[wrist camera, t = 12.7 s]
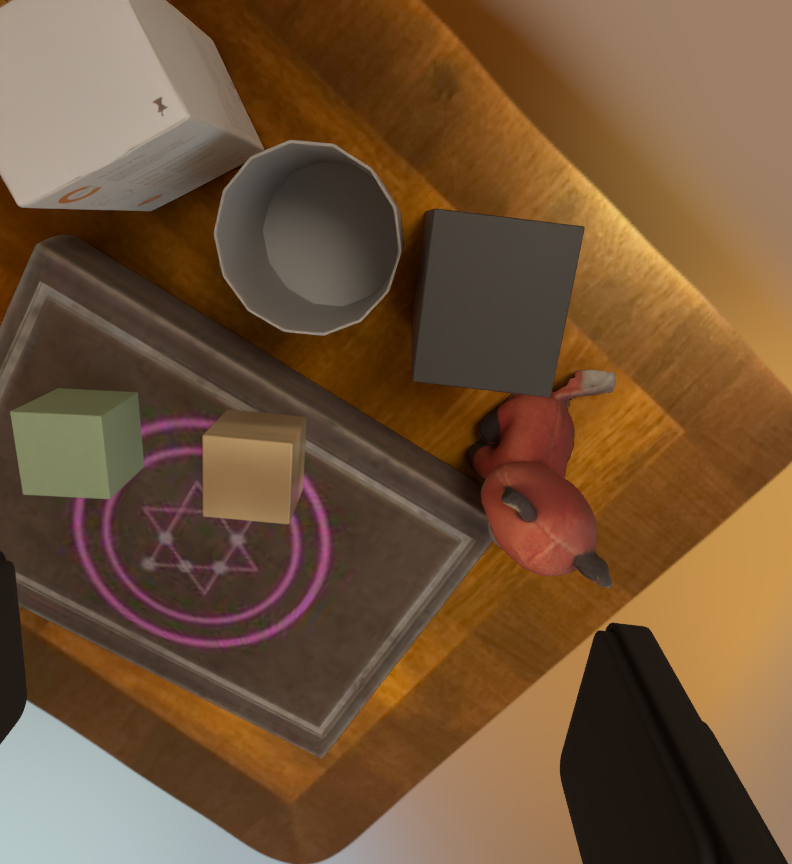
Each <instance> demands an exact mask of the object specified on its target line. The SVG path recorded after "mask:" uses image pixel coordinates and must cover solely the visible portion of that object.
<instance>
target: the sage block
mask: <svg viewBox="0 0 792 864" xmlns="http://www.w3.org/2000/svg"><path fill="white" fill-rule="evenodd" d="M10 415H11V421H12V427H13V434H14V440H15V447H16V453H17V459H18V466H19V472H20V478H21V485H22V491H23V494H24V495H39V496H59V497H78V498H97V499H110V498H112V497H113V496H114V495H115V494H116V493H117V492H118V491H119V490H120V489H121V488H122V487H123V486H124V485H125V484H126V483H127V482H129V481H130V480H131V479H132V478H133V477H134V476H135V475H136V474H137V473H138V472H139V471H140V470H141V469H142V468H143V467H144V457H143V445H142V434H141V423H140V411H139V400H138V393H137V392H123V391H104V390H84V389H65V388H58V389H55V390H53V391H51V392H49V393H47V394H45V395H43V396H41V397H39V398H37V399H35V400H33V401H31V402H29V403H27V404H25V405H22V406H20V407H18V408H16V409H14V410H12V411H10Z"/></svg>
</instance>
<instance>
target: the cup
mask: <svg viewBox="0 0 792 864" xmlns="http://www.w3.org/2000/svg"><path fill="white" fill-rule="evenodd" d="M214 238H215V243H216V247H217V252H218V256H219V261H220V266H221V270H222V275H223V277H224V279H225V280H226V281H227V283H228V284H229V285H230V287H231V288H232V290H233V291H234V292H235V294H236V295H237V297H238V298H239V299H240V301H241V302H242V303H243V305H244V306H245V308H246V309H247V310H248V311H249V312H251V313H252V314H254V315H256V316H257V317H259V318H261V319H263V320H264V321H266V322H268V323H269V324H271V325H273V326H275V327H276V328H278V329H280V330H281V331H283V332H290V333H301V334H311V335H322V336H324V335H327V334H330V333H332V332H335V331H338V330H340V329H343V328H346V327H348V326H351V325H354V324H356V323H359V322H361V321H362V320H363V319H364V318H365V317H366V316H367V315H368V314H369V313H370V312H371V311H372V310H373V308H374V307H375V306H376V305H377V304H378V303H379V302H380V301H381V300H382V299H383V298H384V297H385V296H386V295H387V294H388V292H389V290H390V287H391V284H392V281H393V278H394V275H395V271H396V268H397V265H398V262H399V259H400V256H401V252H402V249H403V245H404V239H403V230H402V222H401V214H400V209H399V208H398V206H397V204H396V203H395V201H394V199H393V198H392V196H391V195H390V193H389V191H388V190H387V188H386V187H385V185H384V183H383V182H382V180H381V179H380V178H379V177H378V175H377V174H376V173H375V171H374V170H373V169H372V168H371V167H369V166H368V165H366V164H364V163H363V162H361V161H360V160H358V159H357V158H355V157H353V156H352V155H350V154H349V153H347V152H346V151H344V150H343V149H341V148H339V147H338V146H336V145H335V144H328V143H318V142H308V141H297V140H289V141H286V142H284V143H281V144H279V145H277V146H274V147H272V148H270V149H267V150H265V151H263V152H260V153H258V154H255V155H253V156H251V157H250V158H249V159H248V160H247V161H246V163H245V164H244V165H243V166H242V168H241V169H240V170H239V171H238V172H237V174H236V175H235V176H234V177H233V179H232V180H231V181H230V182H229V184H228V185H227V186H226V187H225V189H224V190H223V193H222V197H221V202H220V206H219V211H218V215H217V220H216V224H215V229H214Z"/></svg>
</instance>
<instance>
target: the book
mask: <svg viewBox="0 0 792 864" xmlns="http://www.w3.org/2000/svg"><path fill="white" fill-rule="evenodd" d="M58 388H65V389H84V390H104V391H123V392H137V393H138V400H139V411H140V423H141V434H142V445H143V457H144V467H143V468H142V469H141V470H140V471H139V472H138V473H137V474H136V475H135V476H134V477H133V478H132V479H131V480H130V481H129V482H127V483H126V484H125V485H124V486H123V487H122V488H121V489H120V490H119V491H118V492H117V493H116V494H115V495H114V496H113V497H112V498H110V499H97V498H78V497H59V496H39V495H24V494H23V491H22V485H21V478H20V472H19V466H18V459H17V453H16V447H15V440H14V434H13V427H12V421H11V415H10V411H12V410H14V409H16V408H18V407H20V406H22V405H25V404H27V403H29V402H31V401H33V400H35V399H37V398H39V397H41V396H43V395H45V394H47V393H49V392H51V391H53V390H55V389H58ZM228 409H229V410H239V411H250V412H260V413H271V414H281V415H292V416H302V417H306V418H307V421H306V441H305V461H304V480H303V490H302V493H301V495H300V498H299V500H298V503H297V506H296V508H295V511H294V513H293V516H292V518H291V521H290V523H289V524H279V523H268V522H258V521H247V520H236V519H226V518H215V517H204V516H203V444H202V436H203V434H204V433H205V432H206V431H207V430H208V429H209V428H210V427H211V426H212V425H213V424H214V423H215V422H216V421H217V420H218V419H219V418H220V417H221V416H222V414H223V413H224V412H225V411H226V410H228ZM481 490H482V485H480V484H479V483H477V482H475V481H474V480H472V479H470V478H469V477H467V476H466V475H464V474H462V473H461V472H459V471H457V470H456V469H454V468H453V467H451V466H449V465H448V464H446V463H444V462H443V461H441V460H440V459H438V458H436V457H435V456H433V455H431V454H430V453H428V452H427V451H425V450H423V449H422V448H420V447H418V446H417V445H415V444H414V443H412V442H410V441H409V440H407V439H405V438H404V437H402V436H400V435H399V434H397V433H396V432H394V431H392V430H391V429H389V428H387V427H386V426H384V425H383V424H381V423H379V422H378V421H376V420H374V419H373V418H371V417H370V416H368V415H366V414H365V413H363V412H361V411H360V410H358V409H357V408H355V407H353V406H352V405H350V404H348V403H347V402H345V401H343V400H342V399H340V398H339V397H337V396H335V395H334V394H332V393H330V392H329V391H327V390H326V389H324V388H322V387H321V386H319V385H317V384H316V383H314V382H313V381H311V380H309V379H308V378H306V377H304V376H303V375H301V374H300V373H298V372H296V371H295V370H293V369H291V368H290V367H288V366H286V365H285V364H283V363H282V362H280V361H278V360H277V359H275V358H273V357H272V356H270V355H269V354H267V353H265V352H264V351H262V350H260V349H259V348H257V347H256V346H254V345H252V344H251V343H249V342H247V341H246V340H244V339H243V338H241V337H239V336H238V335H236V334H234V333H233V332H231V331H230V330H228V329H226V328H225V327H223V326H221V325H220V324H218V323H216V322H215V321H213V320H212V319H210V318H208V317H207V316H205V315H203V314H202V313H200V312H199V311H197V310H195V309H194V308H192V307H190V306H189V305H187V304H186V303H184V302H182V301H181V300H179V299H177V298H176V297H174V296H173V295H171V294H169V293H168V292H166V291H164V290H163V289H161V288H159V287H158V286H156V285H155V284H153V283H151V282H150V281H148V280H146V279H145V278H143V277H142V276H140V275H138V274H137V273H135V272H133V271H132V270H130V269H129V268H127V267H125V266H124V265H122V264H120V263H119V262H117V261H116V260H114V259H112V258H111V257H109V256H107V255H106V254H104V253H103V252H101V251H99V250H98V249H96V248H94V247H93V246H91V245H89V244H88V243H86V242H85V241H83V240H81V239H80V238H78V237H76V236H73V235H58V236H54V237H50V238H48V239H46V240H44V241H41V242H39V243H37V244H36V245H35V247H34V250H33V252H32V254H31V256H30V259H29V261H28V263H27V266H26V268H25V270H24V273H23V275H22V277H21V280H20V282H19V284H18V287H17V289H16V291H15V293H14V296H13V298H12V300H11V303H10V305H9V307H8V310H7V312H6V314H5V317H4V319H3V321H2V324H1V326H0V551H1V552H3V554H4V555H5V557H6V560H7V561H11V562H12V563H13V564H14V567H15V573H16V583H17V594H18V605H19V606H21V607H23V608H25V609H27V610H29V611H31V612H33V613H35V614H37V615H39V616H40V617H42V618H44V619H46V620H48V621H50V622H52V623H54V624H56V625H58V626H60V627H62V628H64V629H66V630H68V631H70V632H72V633H74V634H76V635H78V636H80V637H82V638H84V639H86V640H88V641H90V642H92V643H94V644H96V645H98V646H100V647H102V648H104V649H106V650H108V651H110V652H112V653H114V654H116V655H118V656H120V657H122V658H124V659H126V660H128V661H129V662H131V663H133V664H135V665H137V666H139V667H141V668H143V669H145V670H147V671H149V672H151V673H153V674H155V675H157V676H159V677H161V678H163V679H165V680H167V681H169V682H171V683H173V684H175V685H177V686H179V687H181V688H183V689H185V690H187V691H189V692H191V693H193V694H195V695H197V696H199V697H201V698H203V699H205V700H207V701H209V702H211V703H213V704H215V705H217V706H218V707H220V708H222V709H224V710H226V711H228V712H230V713H232V714H234V715H236V716H238V717H240V718H242V719H244V720H246V721H248V722H250V723H252V724H254V725H256V726H258V727H260V728H262V729H264V730H266V731H268V732H270V733H272V734H274V735H276V736H278V737H280V738H282V739H284V740H286V741H288V742H290V743H292V744H294V745H296V746H298V747H300V748H302V749H304V750H306V751H307V752H309V753H311V754H313V755H315V756H317V757H319V758H321V759H323V757H324V756H325V755H326V753H327V752H328V751H329V750H330V748H331V747H332V746H333V744H334V743H335V742H336V741H337V739H338V738H339V737H340V736H341V734H342V733H343V732H344V730H345V729H346V728H347V727H348V725H349V724H350V723H351V722H352V720H353V719H354V718H355V716H356V715H357V714H358V713H359V711H360V710H361V709H362V707H363V706H364V705H365V704H366V702H367V701H368V700H369V699H370V697H371V696H372V695H373V693H374V692H375V691H376V690H377V688H378V687H379V686H380V685H381V683H382V682H383V681H384V679H385V678H386V677H387V676H388V674H389V673H390V672H391V671H392V669H393V668H394V667H395V665H396V664H397V663H398V662H399V660H400V659H401V658H402V656H403V655H404V654H405V653H406V651H407V650H408V649H409V648H410V646H411V645H412V644H413V642H414V641H415V640H416V639H417V637H418V636H419V635H420V634H421V632H422V631H423V630H424V628H425V627H426V626H427V625H428V623H429V622H430V621H431V619H432V618H433V617H434V616H435V614H436V613H437V612H438V611H439V609H440V608H441V607H442V605H443V604H444V603H445V602H446V600H447V599H448V598H449V597H450V595H451V594H452V593H453V591H454V590H455V589H456V588H457V586H458V585H459V584H460V582H461V581H462V580H463V579H464V577H465V576H466V575H467V574H468V572H469V571H470V570H471V568H472V567H473V566H474V565H475V563H476V562H477V561H478V560H479V558H480V557H481V556H482V554H483V553H484V552H485V551H486V549H487V548H488V547H489V546H490V544H491V543H492V542H493V540H492V538H491V537H490V534H489V530H488V524H489V521H488V518H487V515H486V512H485V510H484V507H483V504H482V500H481Z"/></svg>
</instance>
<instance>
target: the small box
mask: <svg viewBox="0 0 792 864" xmlns="http://www.w3.org/2000/svg"><path fill="white" fill-rule="evenodd" d="M263 151H265V149H264V147H263V145H262V143H261V141H260V139H259V137H258V135H257V133H256V131H255V129H254V127H253V125H252V122H251V120H250V118H249V116H248V114H247V112H246V110H245V108H244V106H243V104H242V101H241V99H240V97H239V95H238V93H237V91H236V89H235V87H234V84H233V82H232V80H231V78H230V76H229V74H228V72H227V69H226V67H225V65H224V63H223V61H222V59H221V57H220V55H219V53H218V50H217V48H216V46H215V44H214V42H213V40H212V39H211V38H210V37H209V36H207V35H206V34H205V33H204V32H203V31H201V30H200V29H199V28H198V27H197V26H196V25H194V24H193V23H192V22H191V21H190V20H189V19H188V18H186V17H185V16H184V15H183V14H182V13H181V12H179V11H178V10H177V9H176V8H175V7H173V6H172V5H171V4H170V3H168V2H167V1H166V0H9V1H8V2H6V3H4V4H3V5H1V6H0V175H1V177H2V179H3V180H4V182H5V184H6V186H7V187H8V189H9V191H10V193H11V194H12V196H13V198H14V200H15V201H16V203H17V205H18V206H19V207H22V208H47V209H84V210H126V211H152V210H154V209H156V208H158V207H160V206H163V205H165V204H167V203H168V202H170V201H172V200H174V199H176V198H178V197H180V196H182V195H184V194H186V193H188V192H190V191H192V190H194V189H196V188H198V187H200V186H202V185H203V184H205V183H207V182H209V181H211V180H213V179H215V178H217V177H219V176H221V175H223V174H224V173H226V172H228V171H230V170H232V169H234V168H236V167H238V166H240V165H242V164H243V163H245V162H246V161H247V160H248V159H249V158H250V157H251V156H253V155H255V154H258V153H260V152H263Z"/></svg>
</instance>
